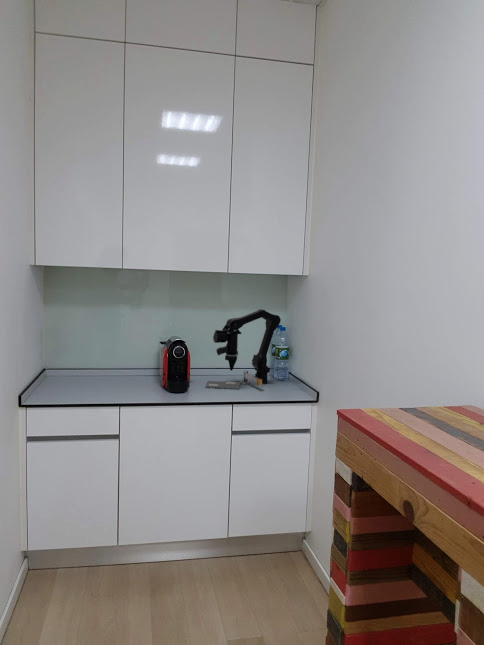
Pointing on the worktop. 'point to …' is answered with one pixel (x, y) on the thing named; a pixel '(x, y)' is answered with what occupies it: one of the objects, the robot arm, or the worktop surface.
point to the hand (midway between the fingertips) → (231, 370)
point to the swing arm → (251, 378)
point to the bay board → (222, 385)
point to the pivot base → (245, 383)
